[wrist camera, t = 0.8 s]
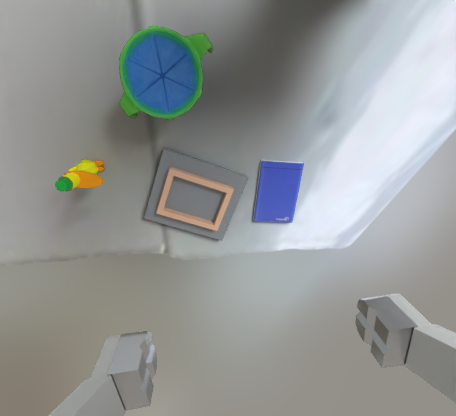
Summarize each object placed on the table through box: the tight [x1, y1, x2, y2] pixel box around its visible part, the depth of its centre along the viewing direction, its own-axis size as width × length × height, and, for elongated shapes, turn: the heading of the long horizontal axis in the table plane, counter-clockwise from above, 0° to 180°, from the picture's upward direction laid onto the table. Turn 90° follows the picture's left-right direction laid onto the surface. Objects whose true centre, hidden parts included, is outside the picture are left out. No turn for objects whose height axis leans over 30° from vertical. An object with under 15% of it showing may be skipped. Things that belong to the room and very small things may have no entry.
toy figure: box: [55, 159, 104, 191], centre depth 42 cm, size 7×4×12 cm, turn 84°
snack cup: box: [119, 26, 213, 119], centre depth 38 cm, size 16×10×10 cm
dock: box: [144, 148, 248, 240], centre depth 50 cm, size 14×16×3 cm
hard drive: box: [253, 160, 304, 223], centre depth 52 cm, size 2×8×12 cm
